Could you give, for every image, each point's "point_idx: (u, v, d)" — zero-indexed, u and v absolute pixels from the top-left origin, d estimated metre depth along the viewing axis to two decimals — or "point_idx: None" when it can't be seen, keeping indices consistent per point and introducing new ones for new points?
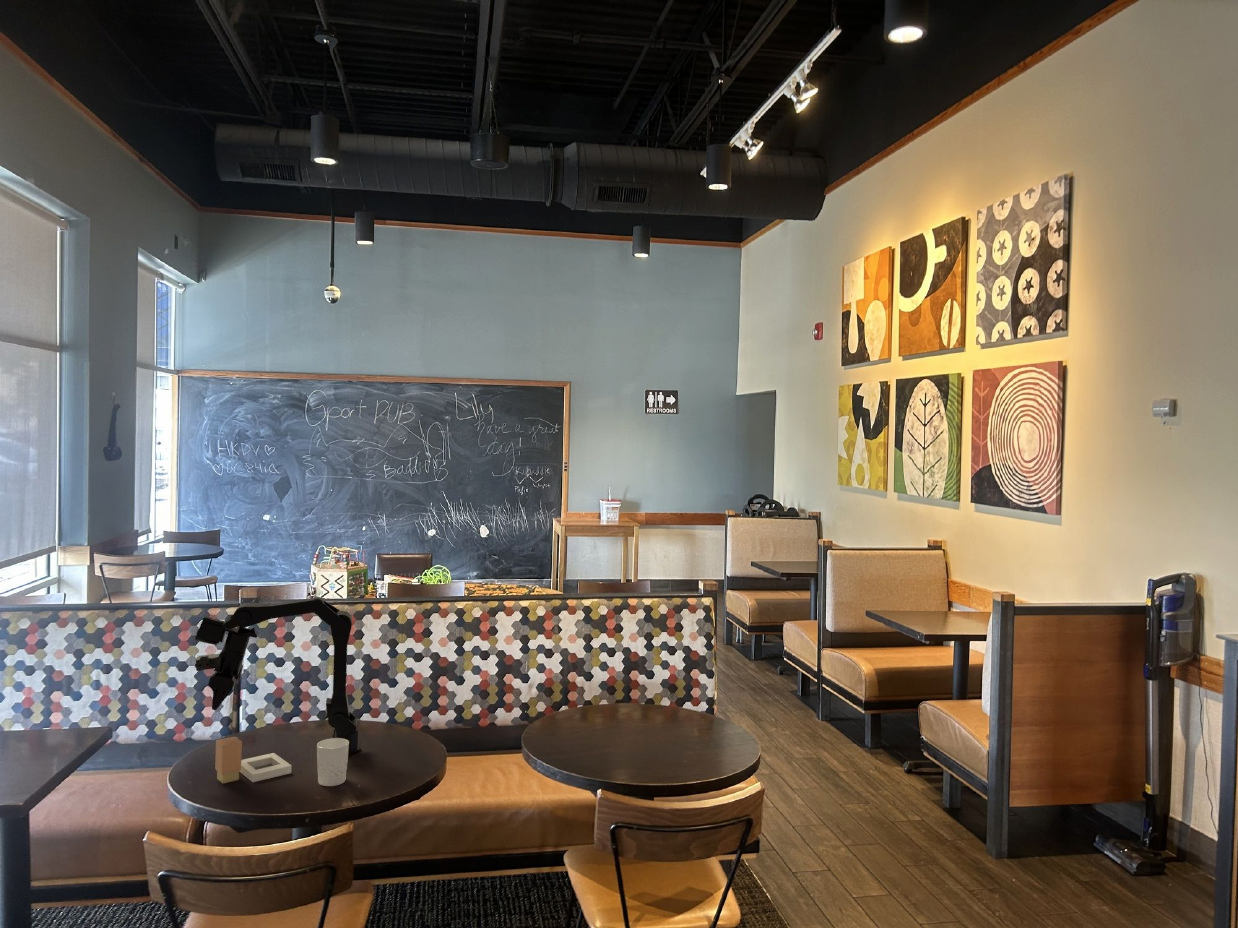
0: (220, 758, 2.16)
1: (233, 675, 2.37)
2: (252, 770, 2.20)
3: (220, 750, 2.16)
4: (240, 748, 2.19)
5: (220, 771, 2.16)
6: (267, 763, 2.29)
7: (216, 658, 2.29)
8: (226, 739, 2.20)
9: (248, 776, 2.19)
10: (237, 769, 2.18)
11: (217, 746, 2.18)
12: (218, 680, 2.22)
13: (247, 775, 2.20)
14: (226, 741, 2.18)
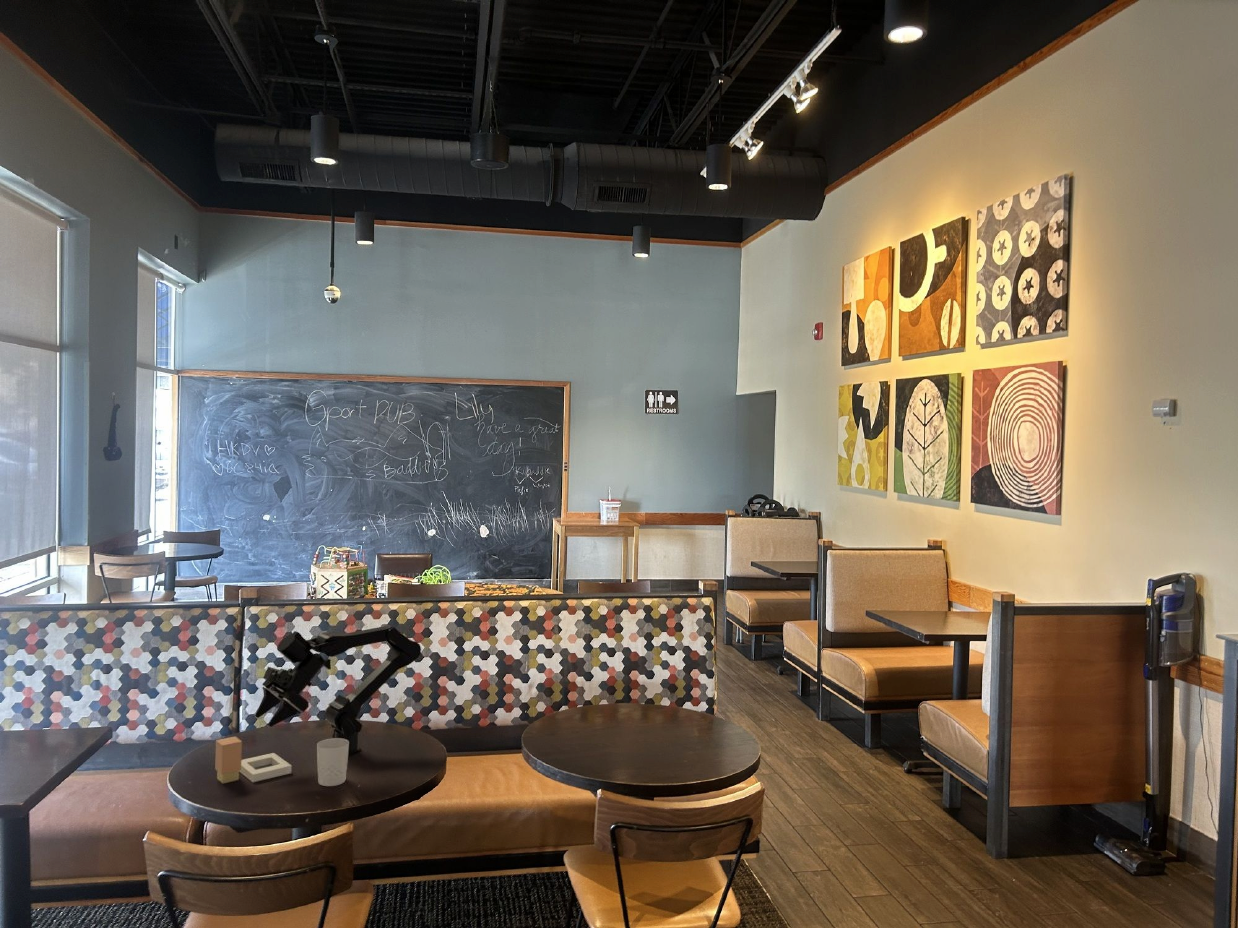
0: (220, 758, 2.16)
1: (276, 697, 2.33)
2: (252, 770, 2.20)
3: (220, 750, 2.16)
4: (240, 748, 2.19)
5: (220, 771, 2.16)
6: (267, 763, 2.29)
7: (290, 675, 2.27)
8: (226, 739, 2.20)
9: (248, 776, 2.19)
10: (237, 769, 2.18)
11: (217, 746, 2.18)
12: (299, 699, 2.22)
13: (247, 775, 2.20)
14: (226, 741, 2.18)
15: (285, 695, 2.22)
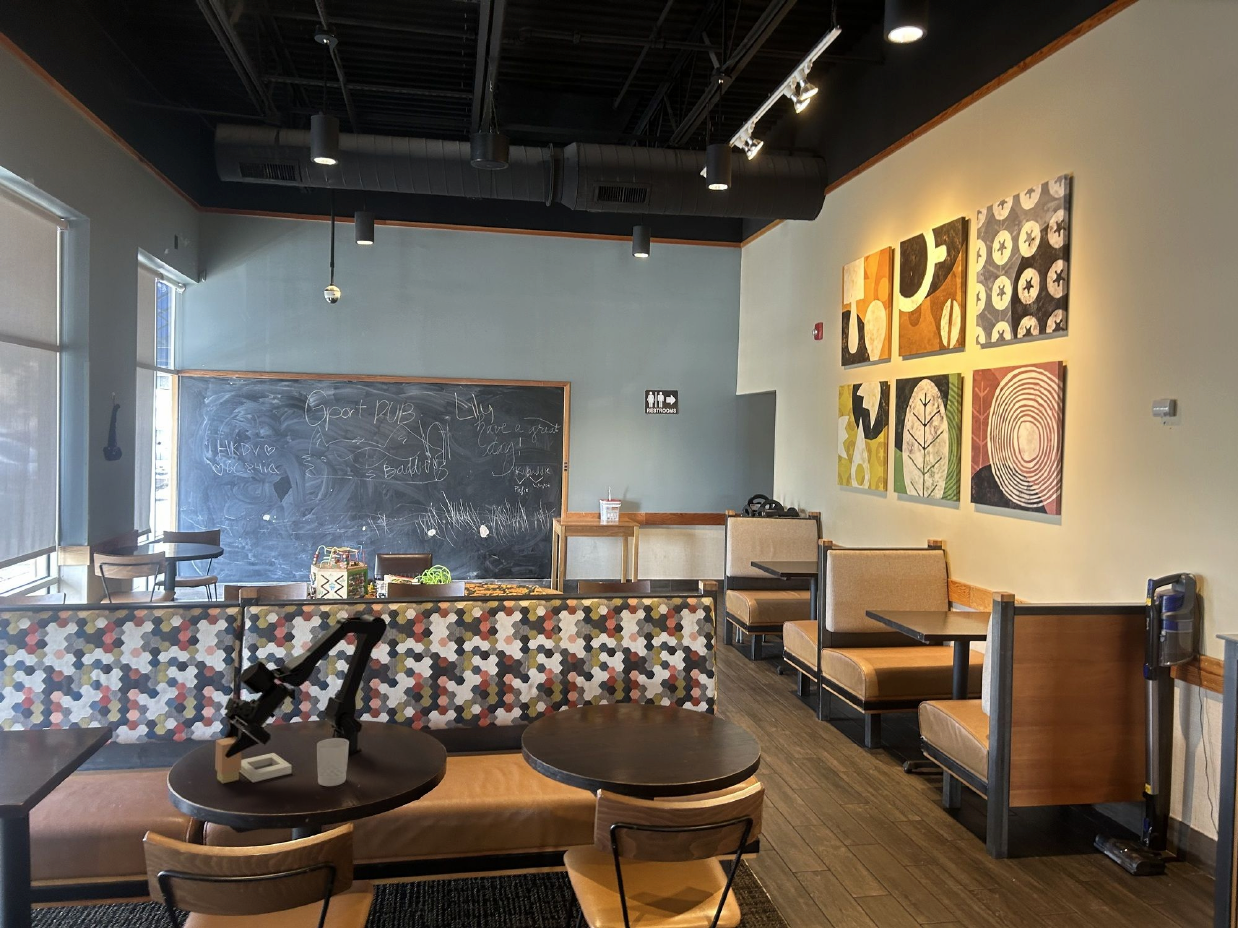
0: (220, 758, 2.16)
1: None
2: (252, 770, 2.20)
3: (220, 750, 2.16)
4: None
5: (220, 771, 2.16)
6: (267, 763, 2.29)
7: (252, 707, 2.21)
8: (226, 739, 2.20)
9: (248, 776, 2.19)
10: (237, 769, 2.18)
11: (217, 746, 2.18)
12: (260, 731, 2.15)
13: (247, 775, 2.20)
14: (226, 741, 2.18)
15: (246, 727, 2.15)
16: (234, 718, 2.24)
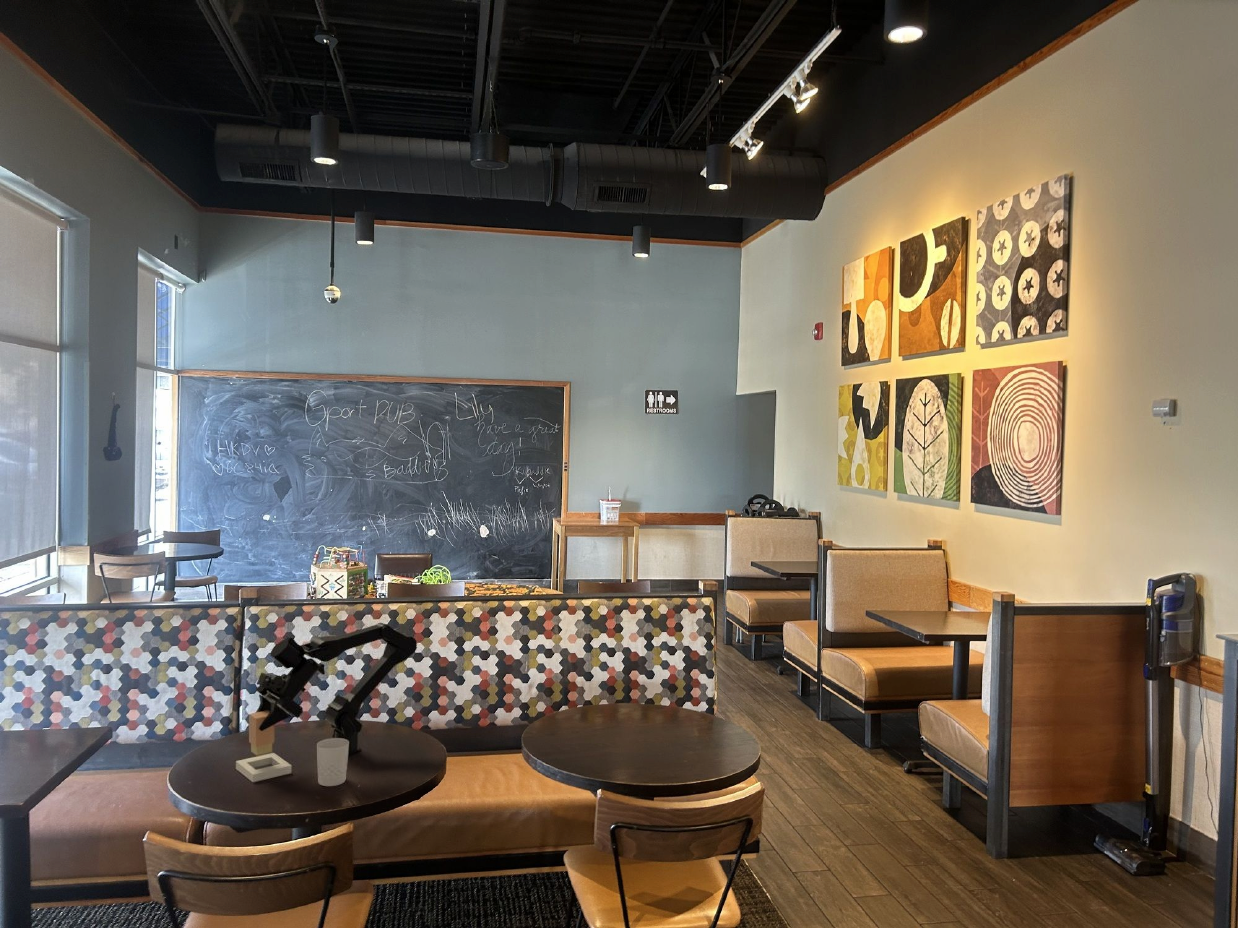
0: (254, 731, 2.22)
1: None
2: (252, 770, 2.20)
3: (253, 723, 2.22)
4: None
5: (254, 744, 2.22)
6: (267, 763, 2.29)
7: (284, 681, 2.26)
8: (259, 712, 2.25)
9: (248, 776, 2.19)
10: (270, 742, 2.24)
11: (250, 720, 2.24)
12: (292, 705, 2.21)
13: (247, 775, 2.20)
14: (259, 714, 2.24)
15: (279, 701, 2.21)
16: (266, 693, 2.30)
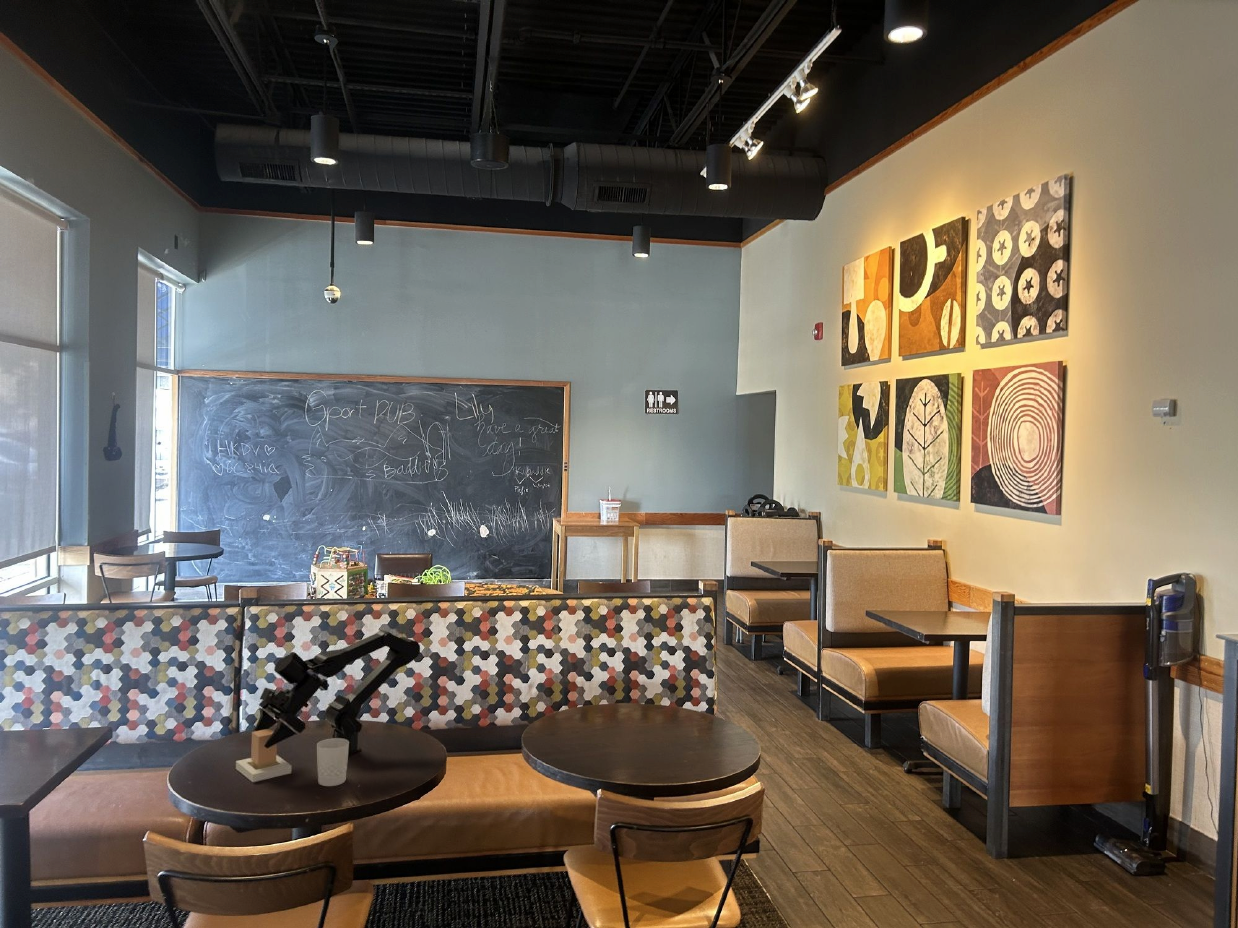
0: (256, 749, 2.23)
1: None
2: (252, 770, 2.20)
3: (256, 741, 2.23)
4: None
5: (256, 762, 2.22)
6: None
7: (287, 696, 2.27)
8: (262, 731, 2.26)
9: (248, 776, 2.19)
10: (272, 760, 2.24)
11: (253, 738, 2.24)
12: (295, 720, 2.21)
13: (247, 775, 2.20)
14: (262, 732, 2.25)
15: (282, 716, 2.22)
16: None
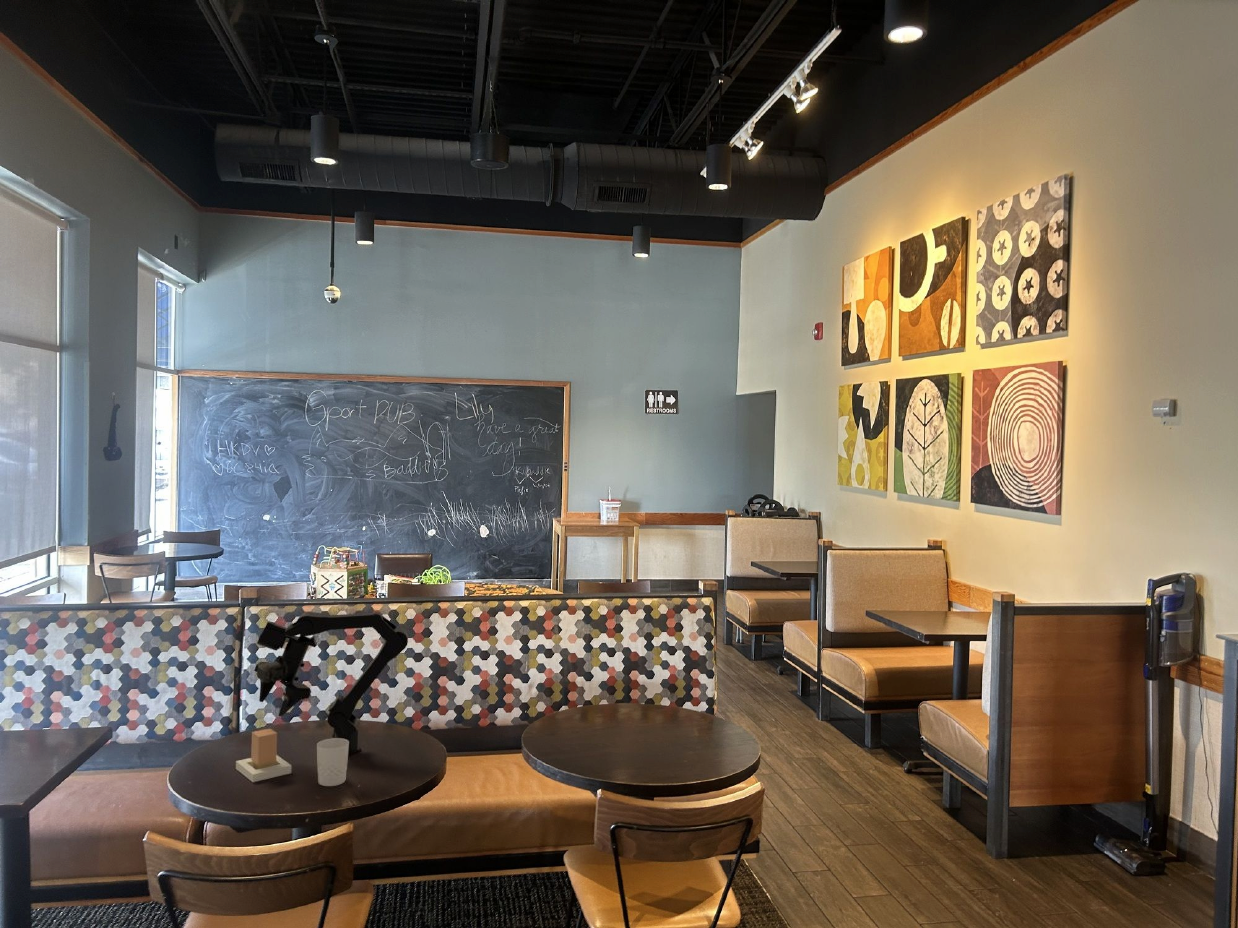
0: (256, 749, 2.23)
1: None
2: (252, 770, 2.20)
3: (256, 741, 2.23)
4: (275, 740, 2.25)
5: (256, 762, 2.22)
6: None
7: (283, 668, 2.33)
8: (262, 731, 2.26)
9: (248, 776, 2.19)
10: (272, 760, 2.24)
11: (253, 738, 2.24)
12: (301, 692, 2.31)
13: (247, 775, 2.20)
14: (262, 732, 2.25)
15: (286, 691, 2.31)
16: None
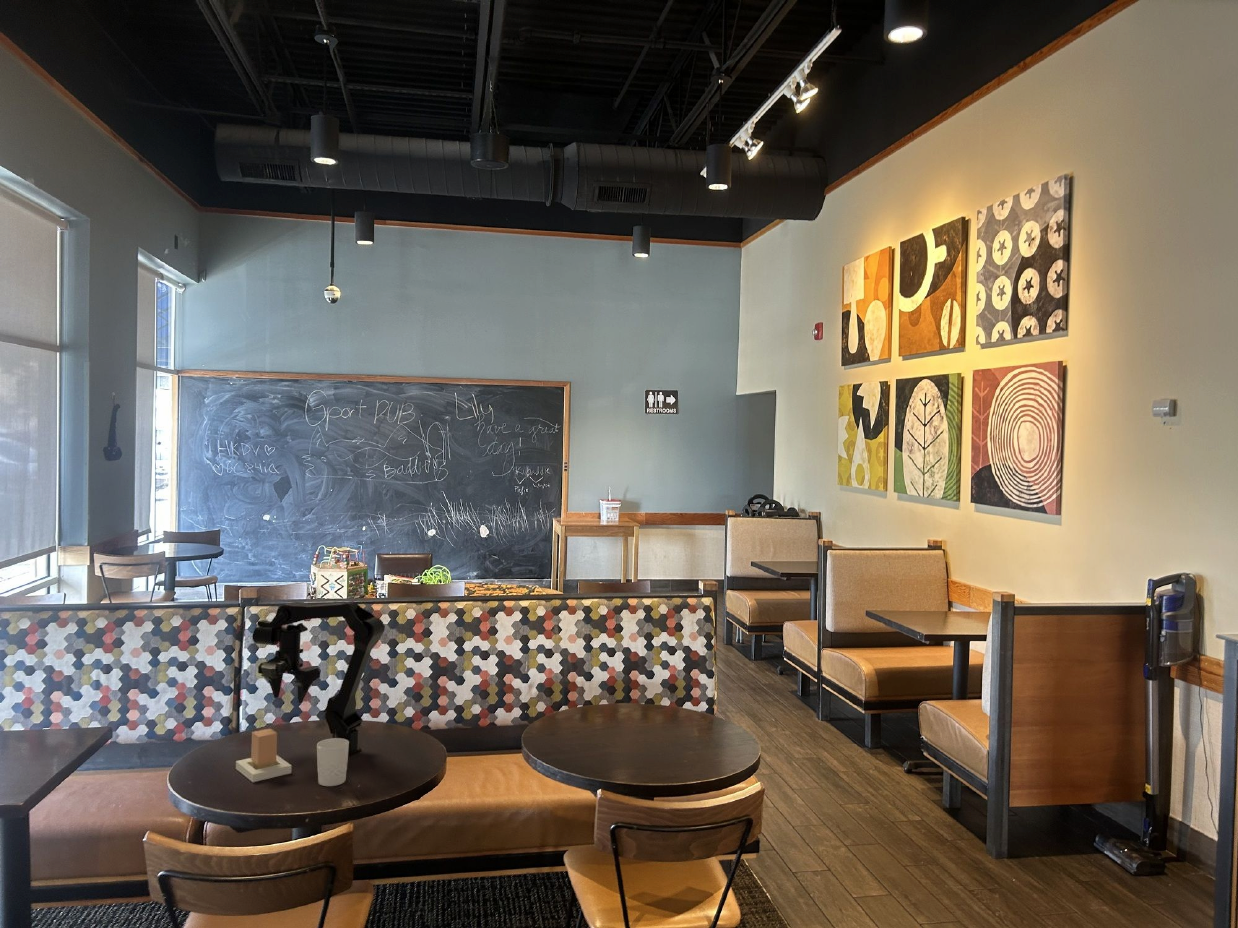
0: (256, 749, 2.23)
1: None
2: (252, 770, 2.20)
3: (256, 741, 2.23)
4: (275, 740, 2.25)
5: (256, 762, 2.22)
6: None
7: (285, 660, 2.40)
8: (262, 731, 2.26)
9: (248, 776, 2.19)
10: (272, 760, 2.24)
11: (253, 738, 2.24)
12: (311, 673, 2.40)
13: (247, 775, 2.20)
14: (262, 732, 2.25)
15: (297, 678, 2.39)
16: None
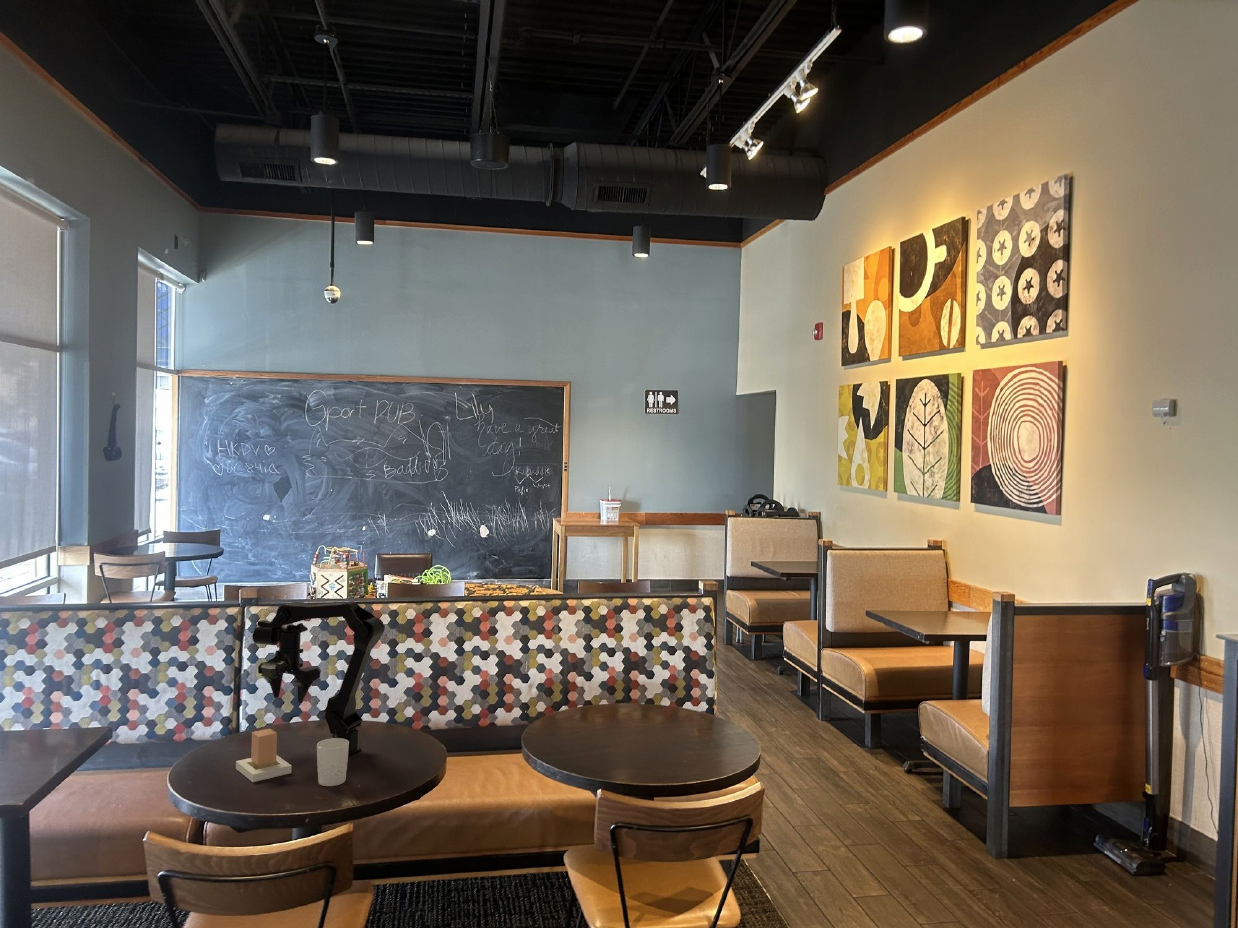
0: (256, 749, 2.23)
1: None
2: (252, 770, 2.20)
3: (256, 741, 2.23)
4: (275, 740, 2.25)
5: (256, 762, 2.22)
6: None
7: (285, 660, 2.40)
8: (262, 731, 2.26)
9: (248, 776, 2.19)
10: (272, 760, 2.24)
11: (253, 738, 2.24)
12: (311, 673, 2.40)
13: (247, 775, 2.20)
14: (262, 732, 2.25)
15: (297, 678, 2.39)
16: None
